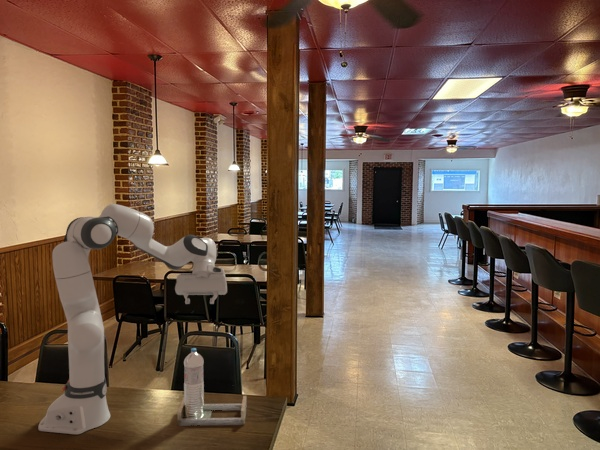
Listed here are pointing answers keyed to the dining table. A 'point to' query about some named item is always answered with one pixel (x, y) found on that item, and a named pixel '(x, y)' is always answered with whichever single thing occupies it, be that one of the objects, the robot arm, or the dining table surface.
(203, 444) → the dining table surface
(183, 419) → the wooden rack frame
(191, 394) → the water bottle
